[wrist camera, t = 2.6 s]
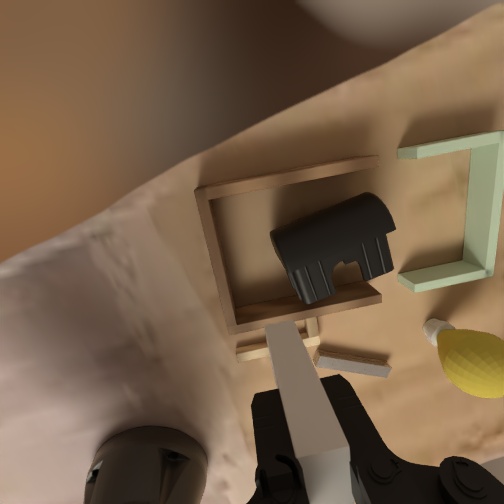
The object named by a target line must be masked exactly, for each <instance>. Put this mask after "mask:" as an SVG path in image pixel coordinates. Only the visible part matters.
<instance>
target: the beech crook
mask: <svg viewBox="0 0 504 504" xmlns="http://www.w3.org/2000/svg"><path fill="white" fill-rule="evenodd" d="M304 320H305V327H306V333H301V334H300V336H301V338H302V340H303V343H304V345H305V347H310V346H314V345H319V344H320V341H319V333H318V325H317V317H313V318H308V319H304ZM236 355H237V359H238V363H239V362H243V361H247V360H252V359H256V358H261V357H265V356H270V355H269V349H268V344H267V341H266V342H261V343H257V344H252V345H248V346H243V347H239V348H236Z"/></svg>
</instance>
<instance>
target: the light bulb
mask: <svg viewBox="0 0 504 504" xmlns="http://www.w3.org/2000/svg"><path fill="white" fill-rule="evenodd" d="M423 331H424V333H426V337H427V339H428V340H429V341H430V342H431V343H432V344H433V345H434V346H436V347H438V355H439V358H440V361H441V364H442V367H443V370H444V372H445V374H446V376H447V378H448V379H449V380H450V381H451V382H452V383H453V384H454V385H456V386H457V387H458V388H460V389H461V390H463V391H464V392H466V393H468V394H471V395H474V396H478V397H482V398H499V397H502V396H504V341H503V340H502V339H500V338H499V337H497V336H495V335H492V334H489V333H486V332H480V331H474V330H468V329H455V327H453V326H452V325H451V324H449V323H448V322H446V321H439V320H438V319H430V320H428V321H427V322H426V323H425V324H424V326H423Z"/></svg>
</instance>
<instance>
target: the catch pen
mask: <svg viewBox="0 0 504 504" xmlns="http://www.w3.org/2000/svg"><path fill="white" fill-rule="evenodd" d="M469 148H471V159H470V172H469V184H468V197H467V210H466V222H465V235H464V248H463V260H461V261H456V262H452V263H447V264H442V265H438V266H433V267H428V268H423V269H419V270H414V271H409V272H404V273H400V274H398V282H400V283H401V284H403V285H404V286H405V287H407V288H408V289H410V290H411V291H413V292H414V293H416V292H421V291H426V290H430V289H435V288H440V287H444V286H449V285H454V284H458V283H463V282H468V281H472V280H477V279H482V278H486V277H491V276H493V273H494V264H495V256H496V248H497V239H498V231H499V223H500V215H501V206H502V198H503V190H504V130H499V131H491V132H482V133H477V134H471V135H466V136H461V137H456V138H451V139H445V140H440V141H435V142H430V143H425V144H419V145H414V146H409V147H404V148H399V149H398V159H418V158H423V157H428V156H433V155H438V154H444V153H449V152H454V151H459V150H464V149H469Z"/></svg>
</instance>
